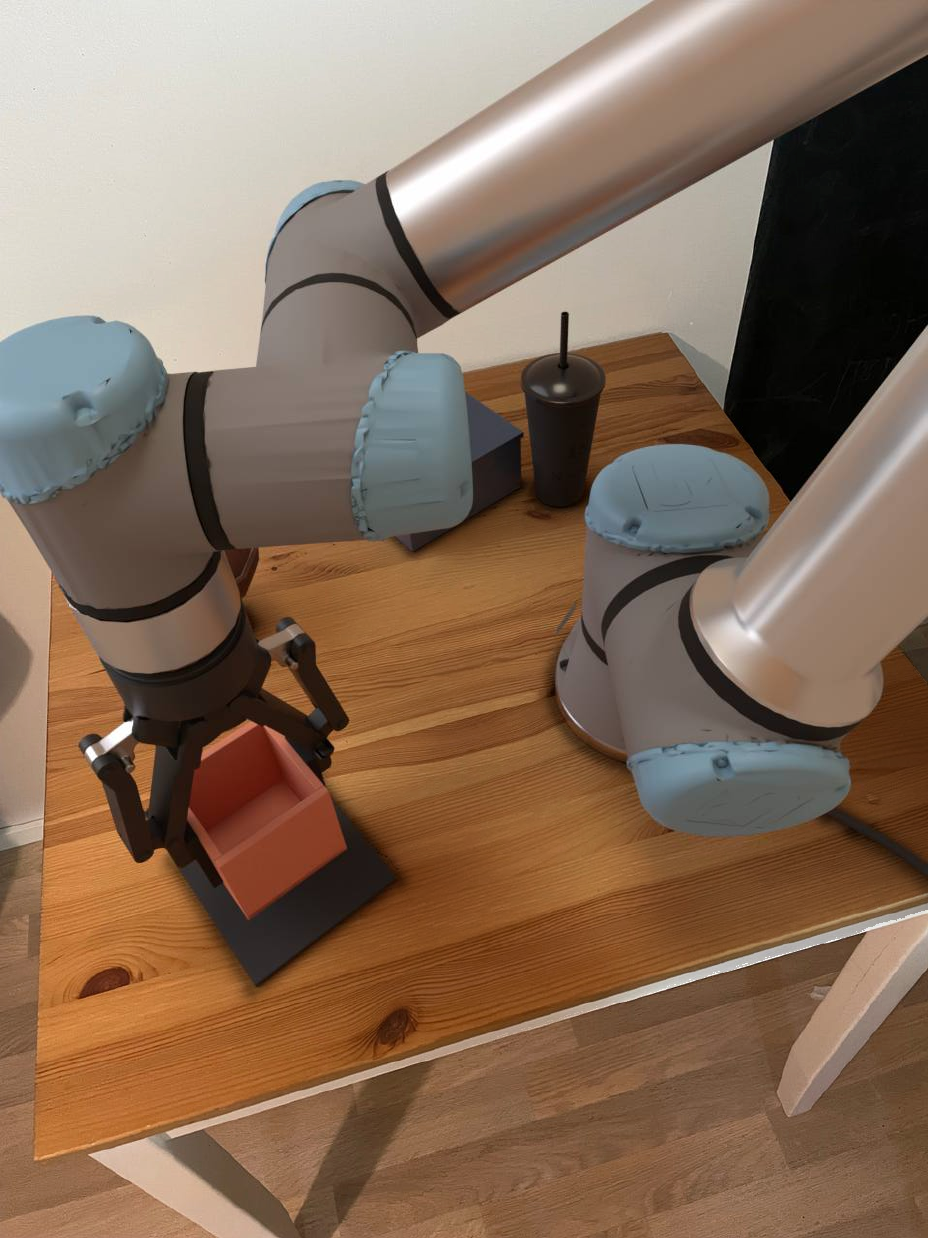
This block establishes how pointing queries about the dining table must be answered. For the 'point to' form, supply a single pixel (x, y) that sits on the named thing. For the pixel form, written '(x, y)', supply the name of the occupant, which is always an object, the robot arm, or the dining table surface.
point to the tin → (484, 464)
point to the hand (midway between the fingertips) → (264, 832)
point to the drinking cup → (561, 419)
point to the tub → (262, 816)
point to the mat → (295, 905)
